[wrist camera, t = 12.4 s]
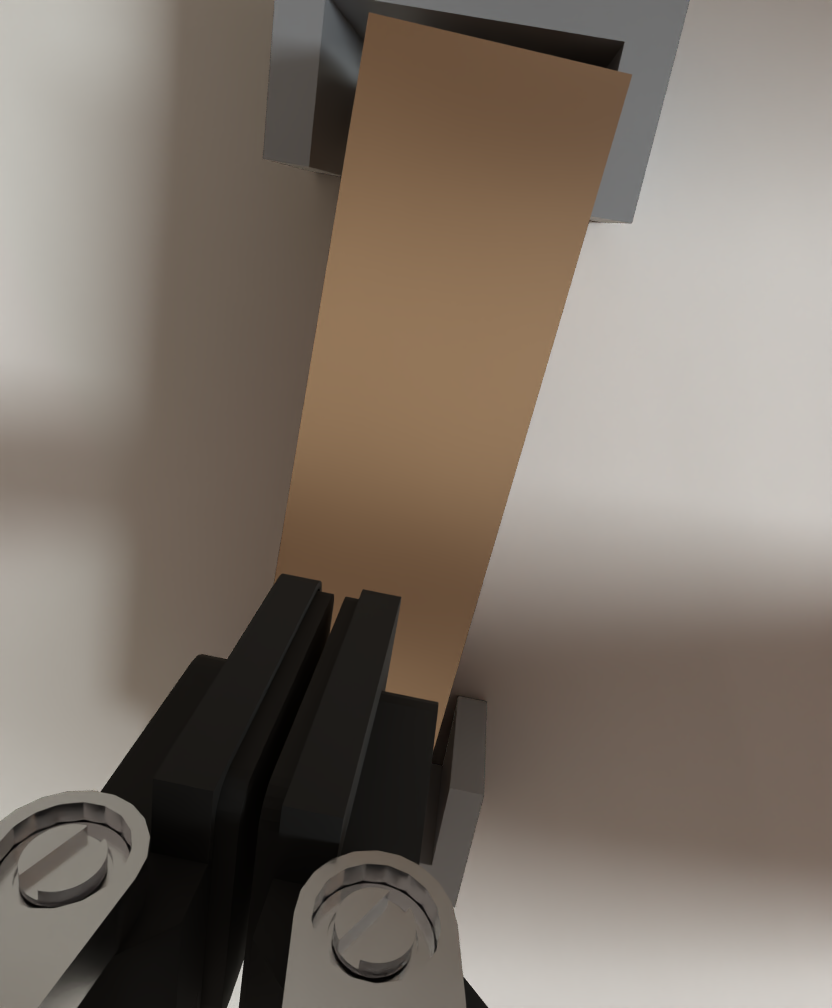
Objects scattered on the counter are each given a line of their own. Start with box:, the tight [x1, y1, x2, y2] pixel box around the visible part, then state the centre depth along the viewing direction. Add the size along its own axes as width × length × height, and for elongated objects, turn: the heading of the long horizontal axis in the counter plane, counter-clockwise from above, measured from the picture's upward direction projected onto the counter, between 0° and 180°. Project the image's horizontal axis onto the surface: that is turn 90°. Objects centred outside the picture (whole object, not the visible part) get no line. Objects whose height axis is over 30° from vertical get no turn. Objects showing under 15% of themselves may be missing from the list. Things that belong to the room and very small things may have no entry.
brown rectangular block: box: [274, 12, 632, 750], centre depth 15 cm, size 16×4×6 cm, turn 167°
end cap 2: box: [419, 696, 487, 907], centre depth 19 cm, size 4×6×4 cm, turn 81°
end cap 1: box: [263, 0, 690, 223], centre depth 13 cm, size 4×6×4 cm, turn 81°
